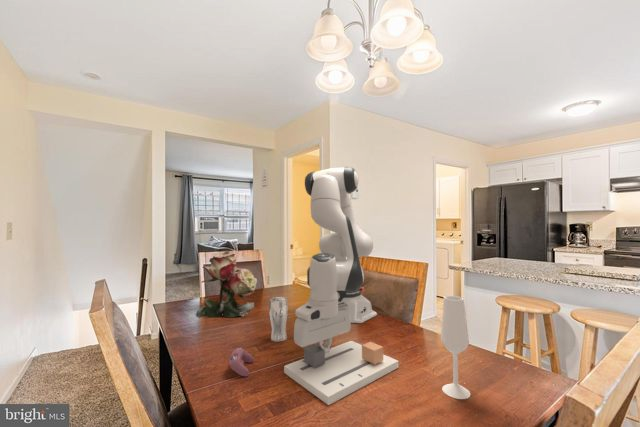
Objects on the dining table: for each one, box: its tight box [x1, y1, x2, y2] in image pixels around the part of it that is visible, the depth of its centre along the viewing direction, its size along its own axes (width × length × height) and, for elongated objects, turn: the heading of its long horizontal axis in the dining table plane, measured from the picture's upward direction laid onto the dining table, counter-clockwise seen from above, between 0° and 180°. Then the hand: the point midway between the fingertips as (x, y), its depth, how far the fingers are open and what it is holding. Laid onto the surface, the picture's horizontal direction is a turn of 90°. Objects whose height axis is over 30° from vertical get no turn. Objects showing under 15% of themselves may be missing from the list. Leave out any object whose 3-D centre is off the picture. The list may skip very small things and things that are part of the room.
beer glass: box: [268, 296, 289, 343], centre depth 112 cm, size 7×7×15 cm
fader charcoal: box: [303, 343, 325, 368], centre depth 87 cm, size 4×5×4 cm
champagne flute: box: [440, 295, 471, 400], centre depth 76 cm, size 7×7×24 cm
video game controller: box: [228, 346, 254, 377], centre depth 88 cm, size 10×5×7 cm, turn 5°
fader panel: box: [283, 340, 400, 406], centre depth 87 cm, size 28×20×2 cm
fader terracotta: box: [361, 341, 384, 364], centre depth 88 cm, size 4×5×4 cm
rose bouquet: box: [195, 250, 258, 319], centre depth 150 cm, size 26×29×30 cm
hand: (324, 352), depth 89 cm, fingers closed
